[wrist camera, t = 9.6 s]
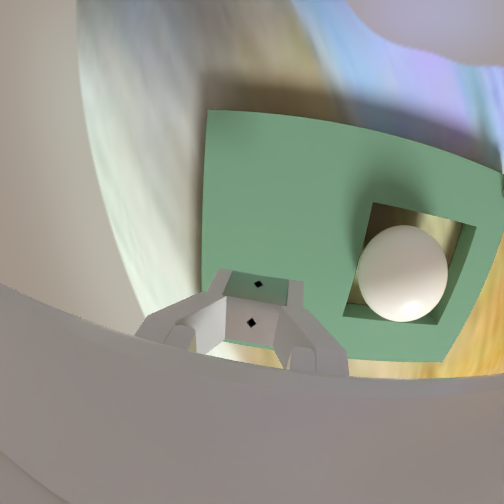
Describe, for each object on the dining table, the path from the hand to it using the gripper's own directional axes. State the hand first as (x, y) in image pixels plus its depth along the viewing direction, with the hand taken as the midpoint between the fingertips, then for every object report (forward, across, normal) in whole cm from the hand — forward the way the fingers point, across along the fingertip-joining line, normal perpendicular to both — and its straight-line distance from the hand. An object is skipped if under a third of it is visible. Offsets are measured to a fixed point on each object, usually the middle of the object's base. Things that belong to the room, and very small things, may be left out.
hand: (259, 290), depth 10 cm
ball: (+4, -7, 0) cm, 8 cm away
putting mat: (+7, -5, -1) cm, 8 cm away
